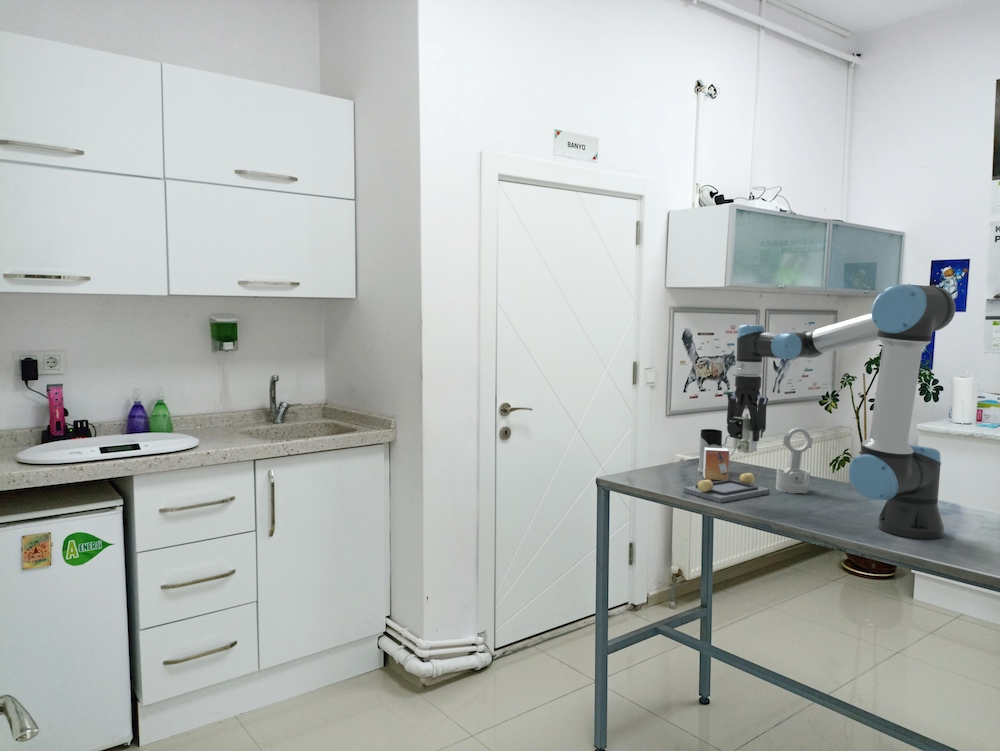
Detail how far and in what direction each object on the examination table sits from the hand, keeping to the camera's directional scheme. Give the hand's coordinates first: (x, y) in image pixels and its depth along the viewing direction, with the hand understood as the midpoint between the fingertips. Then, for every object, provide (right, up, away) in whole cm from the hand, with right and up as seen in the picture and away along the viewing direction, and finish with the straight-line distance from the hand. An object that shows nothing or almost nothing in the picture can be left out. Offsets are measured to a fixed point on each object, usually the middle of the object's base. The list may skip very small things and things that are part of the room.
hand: (744, 449), depth 217 cm
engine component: (+21, -15, +13) cm, 29 cm away
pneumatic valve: (0, -1, 0) cm, 1 cm away
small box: (0, -13, +28) cm, 32 cm away
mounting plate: (-3, -15, +8) cm, 17 cm away
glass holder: (+4, -12, +40) cm, 43 cm away
